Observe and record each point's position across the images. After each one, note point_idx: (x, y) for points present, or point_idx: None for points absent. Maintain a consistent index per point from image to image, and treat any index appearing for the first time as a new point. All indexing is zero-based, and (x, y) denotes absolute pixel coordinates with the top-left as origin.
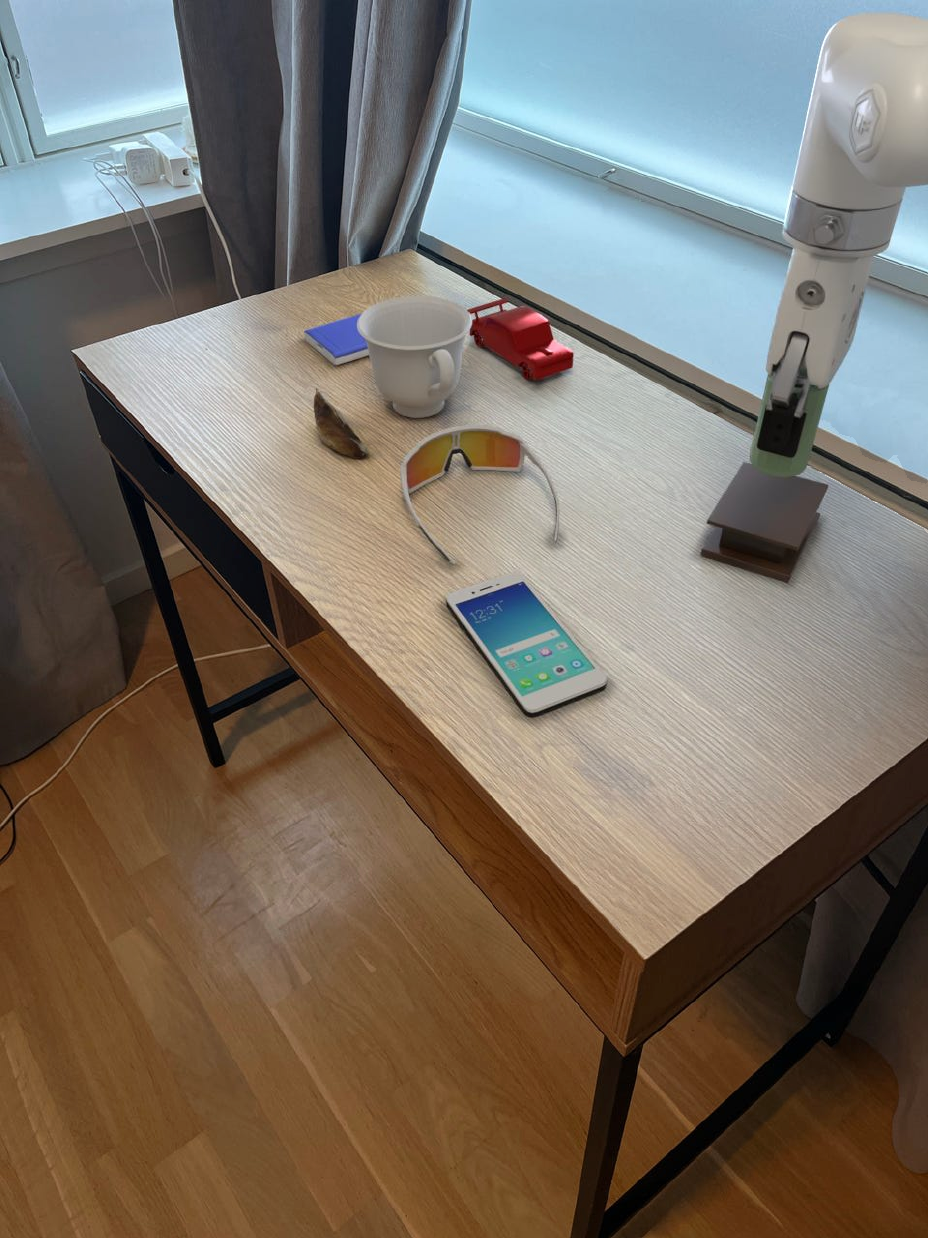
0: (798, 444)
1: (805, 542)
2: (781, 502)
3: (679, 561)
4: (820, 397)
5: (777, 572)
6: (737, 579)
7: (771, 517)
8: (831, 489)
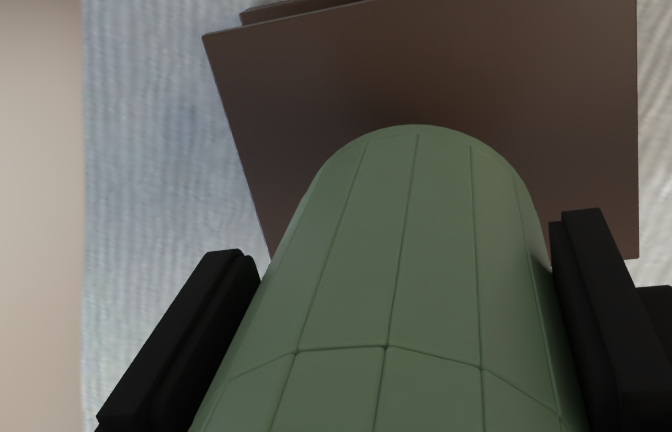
0: (592, 241)
1: None
2: (403, 118)
3: (661, 224)
4: (451, 422)
5: None
6: (660, 67)
7: (507, 108)
8: (95, 46)
